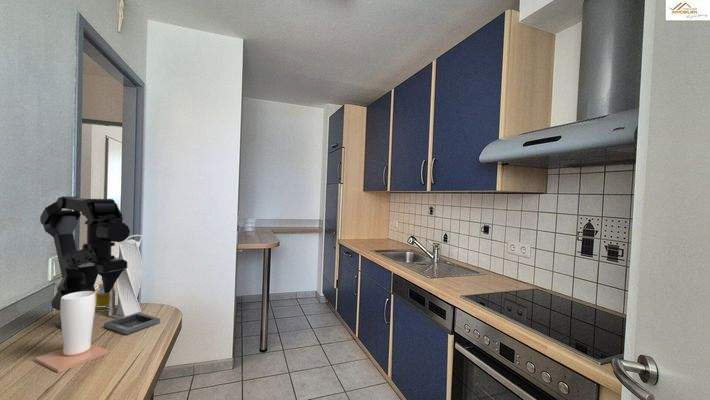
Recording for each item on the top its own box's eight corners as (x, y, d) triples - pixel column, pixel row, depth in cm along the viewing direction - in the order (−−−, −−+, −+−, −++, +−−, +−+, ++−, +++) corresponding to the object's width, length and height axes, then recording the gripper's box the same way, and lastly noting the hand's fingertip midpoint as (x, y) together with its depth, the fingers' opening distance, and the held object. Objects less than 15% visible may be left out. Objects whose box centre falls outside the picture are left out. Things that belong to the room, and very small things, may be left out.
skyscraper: (132, 308, 111) (134, 233, 111) (147, 311, 108) (148, 235, 108) (107, 316, 103) (108, 236, 103) (122, 320, 100) (123, 237, 100)
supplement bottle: (98, 308, 110) (98, 282, 110) (116, 305, 113) (116, 280, 113) (94, 313, 106) (95, 286, 106) (113, 310, 108) (114, 284, 109)
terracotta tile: (34, 360, 75) (35, 357, 75) (84, 343, 84) (84, 341, 84) (58, 372, 70) (58, 369, 70) (108, 353, 79) (108, 350, 79)
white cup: (65, 361, 73) (66, 301, 73) (54, 353, 76) (55, 296, 76) (99, 349, 79) (100, 293, 79) (87, 342, 82) (88, 289, 82)
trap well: (104, 327, 94) (104, 322, 94) (138, 316, 103) (138, 312, 103) (126, 335, 89) (126, 330, 89) (159, 323, 98) (160, 318, 98)
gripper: (48, 240, 86) (47, 294, 86) (82, 245, 79) (81, 304, 79) (95, 236, 97) (94, 284, 96) (129, 240, 89) (128, 292, 89)
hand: (98, 291), depth 90 cm, fingers open, 9 cm apart
